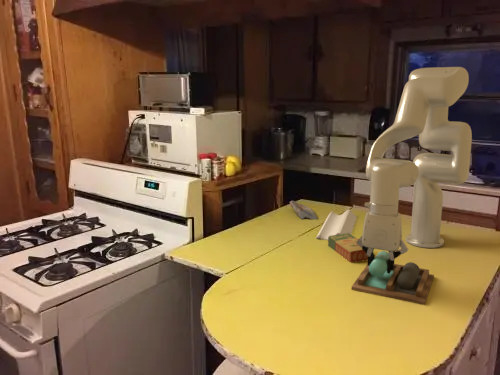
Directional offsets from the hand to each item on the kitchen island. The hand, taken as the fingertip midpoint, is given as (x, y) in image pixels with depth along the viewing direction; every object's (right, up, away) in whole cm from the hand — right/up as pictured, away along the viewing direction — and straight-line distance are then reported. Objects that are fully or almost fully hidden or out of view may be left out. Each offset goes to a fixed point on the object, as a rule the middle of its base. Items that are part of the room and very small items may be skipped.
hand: (380, 269), depth 124 cm
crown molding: (-2, +7, +48) cm, 48 cm away
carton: (-4, +1, +22) cm, 23 cm away
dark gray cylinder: (+7, -3, -3) cm, 8 cm away
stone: (-14, +11, +66) cm, 68 cm away
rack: (+3, -4, -1) cm, 5 cm away
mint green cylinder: (0, -1, 0) cm, 1 cm away
